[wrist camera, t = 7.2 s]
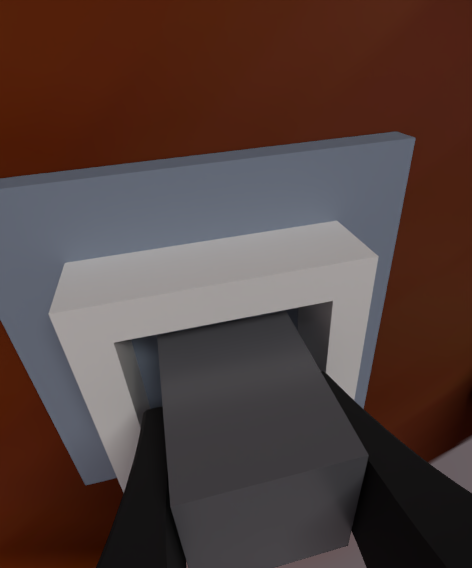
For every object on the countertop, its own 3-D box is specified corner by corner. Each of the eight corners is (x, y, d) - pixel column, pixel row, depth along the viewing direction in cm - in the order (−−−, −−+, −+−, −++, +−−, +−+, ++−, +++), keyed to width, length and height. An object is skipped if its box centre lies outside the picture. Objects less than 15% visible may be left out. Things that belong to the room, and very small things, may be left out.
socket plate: (396, 131, 12) (479, 158, 9) (352, 401, 19) (390, 464, 16) (-47, 184, 10) (-120, 240, 7) (87, 464, 17) (78, 549, 14)
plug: (286, 311, 12) (368, 454, 8) (284, 397, 14) (347, 545, 10) (156, 335, 11) (170, 506, 7) (176, 422, 13) (195, 590, 9)
